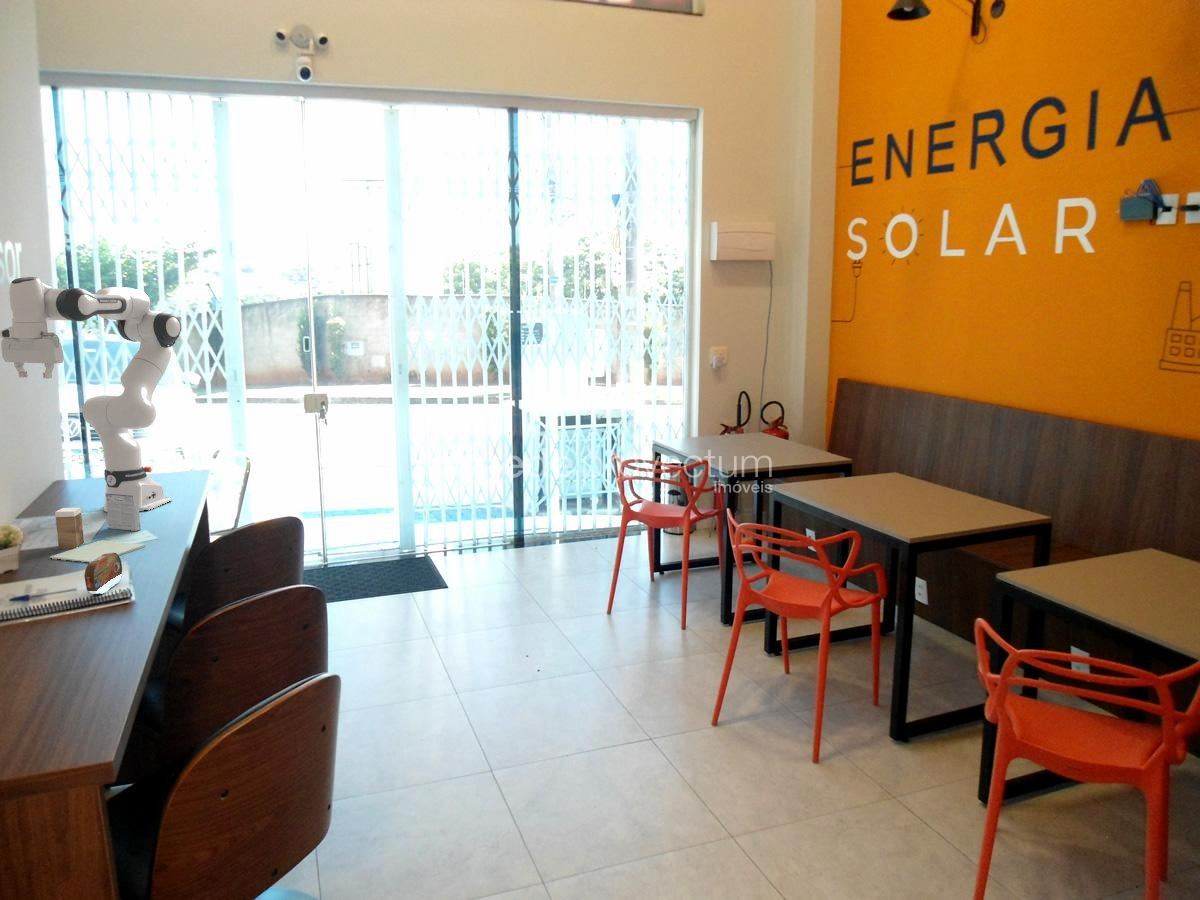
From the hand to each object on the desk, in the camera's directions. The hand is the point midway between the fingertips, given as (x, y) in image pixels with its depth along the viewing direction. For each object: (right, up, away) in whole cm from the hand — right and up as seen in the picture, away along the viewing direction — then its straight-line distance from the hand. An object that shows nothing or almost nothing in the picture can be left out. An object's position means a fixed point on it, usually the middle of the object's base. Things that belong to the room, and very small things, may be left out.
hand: (35, 377), depth 271 cm
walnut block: (+16, -50, -8) cm, 53 cm away
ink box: (+21, -47, +11) cm, 53 cm away
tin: (+46, -57, -45) cm, 86 cm away
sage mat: (+27, -51, -14) cm, 60 cm away
